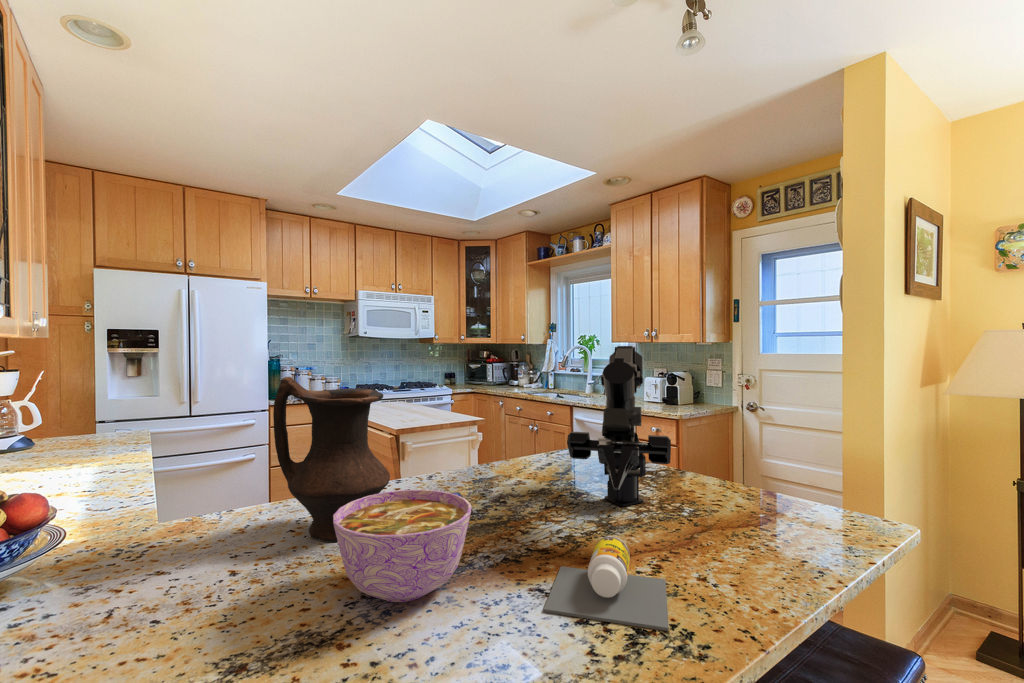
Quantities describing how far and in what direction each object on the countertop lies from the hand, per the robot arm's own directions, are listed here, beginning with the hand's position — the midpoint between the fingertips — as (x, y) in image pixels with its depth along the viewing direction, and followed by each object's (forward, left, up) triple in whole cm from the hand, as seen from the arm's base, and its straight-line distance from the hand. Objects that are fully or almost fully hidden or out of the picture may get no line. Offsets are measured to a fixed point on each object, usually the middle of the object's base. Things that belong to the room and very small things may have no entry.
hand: (616, 488), depth 86 cm
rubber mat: (+12, +12, -10) cm, 20 cm away
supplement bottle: (+7, +7, -7) cm, 12 cm away
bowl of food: (+37, -4, -11) cm, 39 cm away
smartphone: (+18, -35, -11) cm, 41 cm away
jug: (+43, -32, -11) cm, 54 cm away
